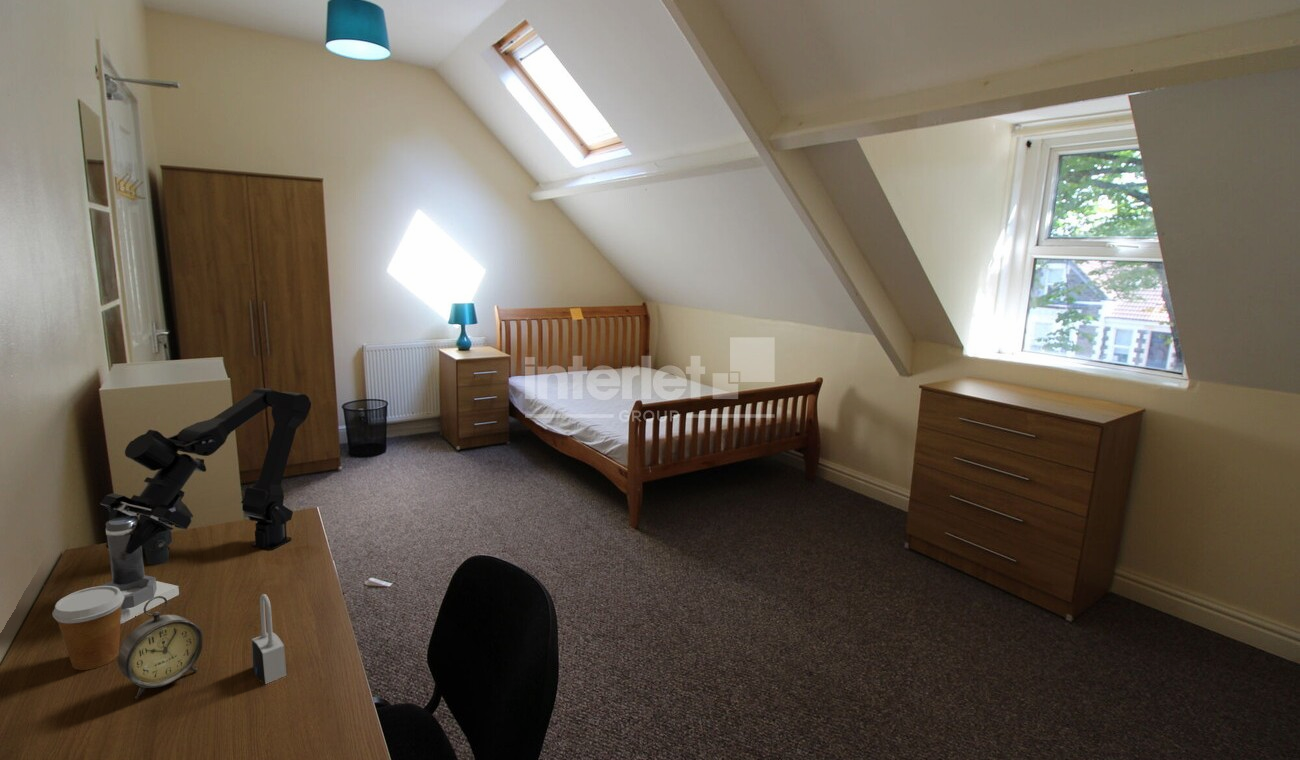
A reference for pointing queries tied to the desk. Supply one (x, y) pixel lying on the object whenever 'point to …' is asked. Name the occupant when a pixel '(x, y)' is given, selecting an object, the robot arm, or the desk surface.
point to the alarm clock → (160, 650)
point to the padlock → (268, 649)
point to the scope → (157, 547)
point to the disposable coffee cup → (90, 625)
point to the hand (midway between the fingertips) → (118, 550)
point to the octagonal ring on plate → (143, 595)
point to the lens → (122, 563)
